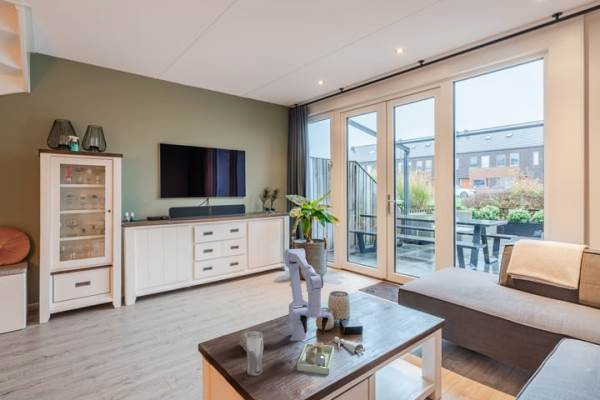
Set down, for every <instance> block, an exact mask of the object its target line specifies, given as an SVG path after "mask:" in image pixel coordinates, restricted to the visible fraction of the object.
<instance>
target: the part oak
mask: <svg viewBox="0 0 600 400" xmlns="http://www.w3.org/2000/svg"><path fill="white" fill-rule="evenodd" d="M313 344H314V345H313V348H317V354H323V345H324V342H318V341H314V343H313Z"/></svg>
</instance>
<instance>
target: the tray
mask: <svg viewBox="0 0 600 400" xmlns="http://www.w3.org/2000/svg"><path fill="white" fill-rule="evenodd" d="M313 345H314V343H312V342H311V343H309V342H305V345H304V347H303V349H302V351H301V354H300V356H299V358H298V360H297V363H296V371H300V372H306V373H314V374H322V375H328V376H329V375H330V372H331V371H330V370H331V368H332V364H333V359H334V355H335V346H334V345H325V344H323V354H324V355H325V367H321V366H315V364H308V363H306V350H307V348H308V347H313Z"/></svg>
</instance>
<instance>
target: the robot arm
mask: <svg viewBox="0 0 600 400" xmlns="http://www.w3.org/2000/svg"><path fill="white" fill-rule="evenodd" d="M306 255H307V254H306V251H305V248H303V247H302V248H291V249H290V248H289V249H285V250H284V253H283V257H284V264H285V267H286V268H288V272H289V279H290V286H291V293H292V301H291V303H289V305H288V318H289V319H290V321H291V323H292V325H291V333H292V335H291V336H290V338H289V341H290V342H291V341H292V342H300V343H307V341H308V338H309V336H310V332H308V330H309V329H308V321H309V319H310V318H312V319H315V318H319V319H321V336H324V334H325V328H326V326H327V323H328V321H329V320H331V319H332V313H331V312H324V311H322V307H321V306H322V289H323V288H324V285H325V284H324V278H323V275H322V274H319V273H317V272H316V271H315V269H314V266H312V265H311V264H308V261H307V259H306V257H307V256H306ZM299 267H300V269H301V270H300V271H301V272H300V271H299ZM300 273H301V275H302V276H303V279H304V280H305V285H306V293H307V299H308V300H307V301H306V300H305V299H304V298H303V297H304V296H303V291H302V283H301V277H300Z"/></svg>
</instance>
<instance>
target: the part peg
mask: <svg viewBox="0 0 600 400" xmlns="http://www.w3.org/2000/svg"><path fill="white" fill-rule="evenodd" d="M315 366H321V367H325V355H324V354H317V355H316V356H315Z"/></svg>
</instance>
